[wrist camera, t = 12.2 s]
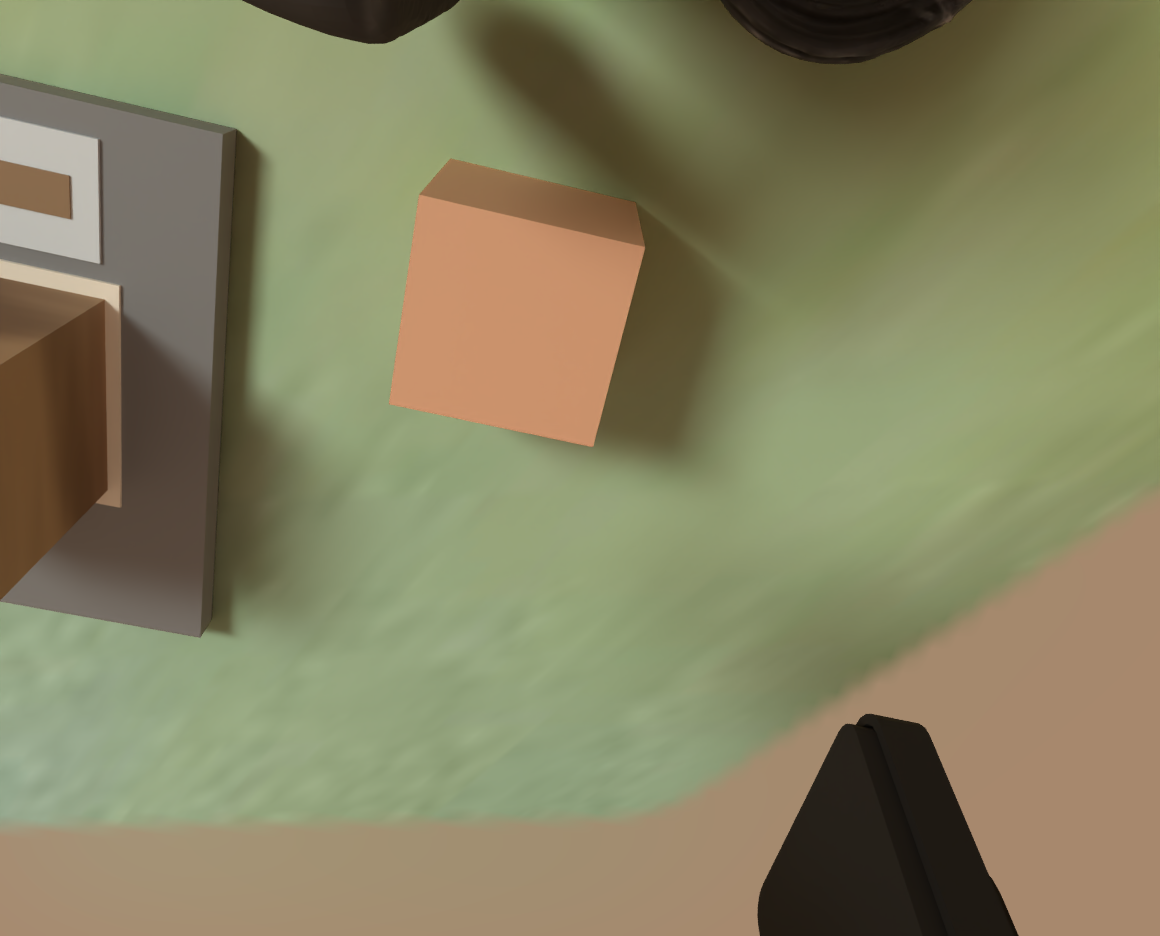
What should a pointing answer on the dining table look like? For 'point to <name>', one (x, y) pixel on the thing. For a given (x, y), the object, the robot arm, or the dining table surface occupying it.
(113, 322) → the board
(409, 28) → the milk frother
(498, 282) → the terracotta block
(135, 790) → the dining table surface
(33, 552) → the walnut cube
